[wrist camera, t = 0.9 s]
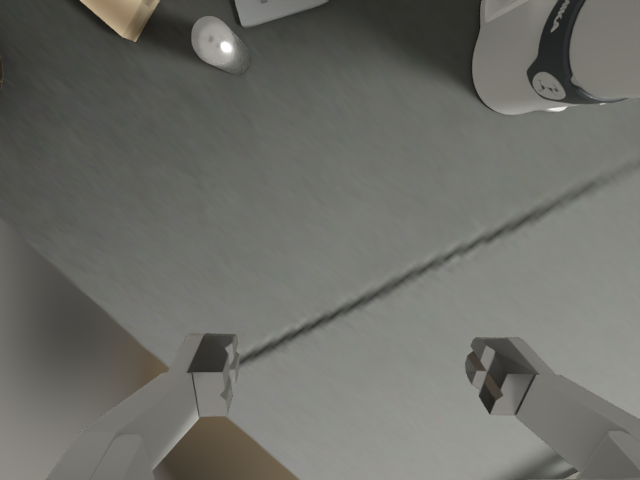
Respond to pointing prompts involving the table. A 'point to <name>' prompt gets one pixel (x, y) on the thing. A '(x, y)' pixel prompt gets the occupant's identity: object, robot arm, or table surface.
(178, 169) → the table surface
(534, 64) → the robot arm
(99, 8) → the socket block
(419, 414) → the table surface
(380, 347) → the table surface
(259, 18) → the office telephone
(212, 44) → the peg
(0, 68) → the wood slice
